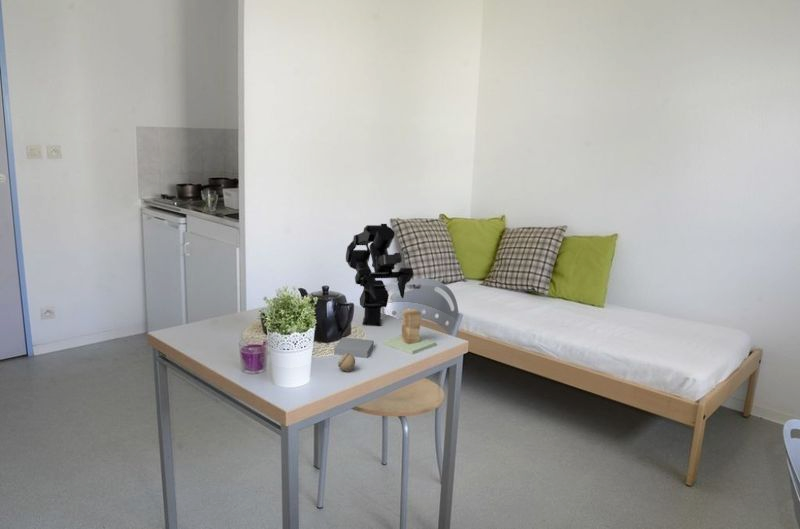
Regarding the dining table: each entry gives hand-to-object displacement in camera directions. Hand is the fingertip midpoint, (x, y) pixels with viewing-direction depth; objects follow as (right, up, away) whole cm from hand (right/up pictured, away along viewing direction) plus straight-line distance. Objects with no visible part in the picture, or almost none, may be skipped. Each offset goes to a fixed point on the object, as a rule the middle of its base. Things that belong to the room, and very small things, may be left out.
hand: (389, 298), depth 195 cm
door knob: (-12, -19, -25) cm, 34 cm away
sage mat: (+6, -15, -2) cm, 16 cm away
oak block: (+7, -14, -2) cm, 15 cm away
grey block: (-11, -15, -10) cm, 21 cm away
